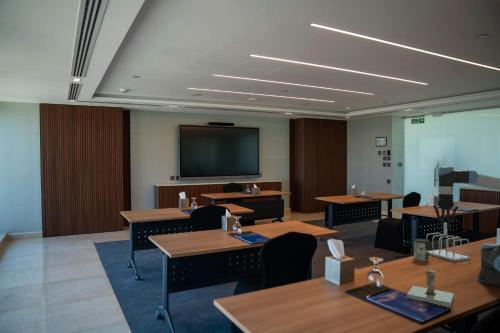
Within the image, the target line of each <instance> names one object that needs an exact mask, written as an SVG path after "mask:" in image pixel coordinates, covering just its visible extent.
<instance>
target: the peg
mask: <svg viewBox="0 0 500 333" xmlns="http://www.w3.org/2000/svg"><path fill="white" fill-rule="evenodd" d="M436 274H437V273H436V270H432V269H426V270H425V277H426V288H427V295H432V296H434V290H435V278H436Z"/></svg>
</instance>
